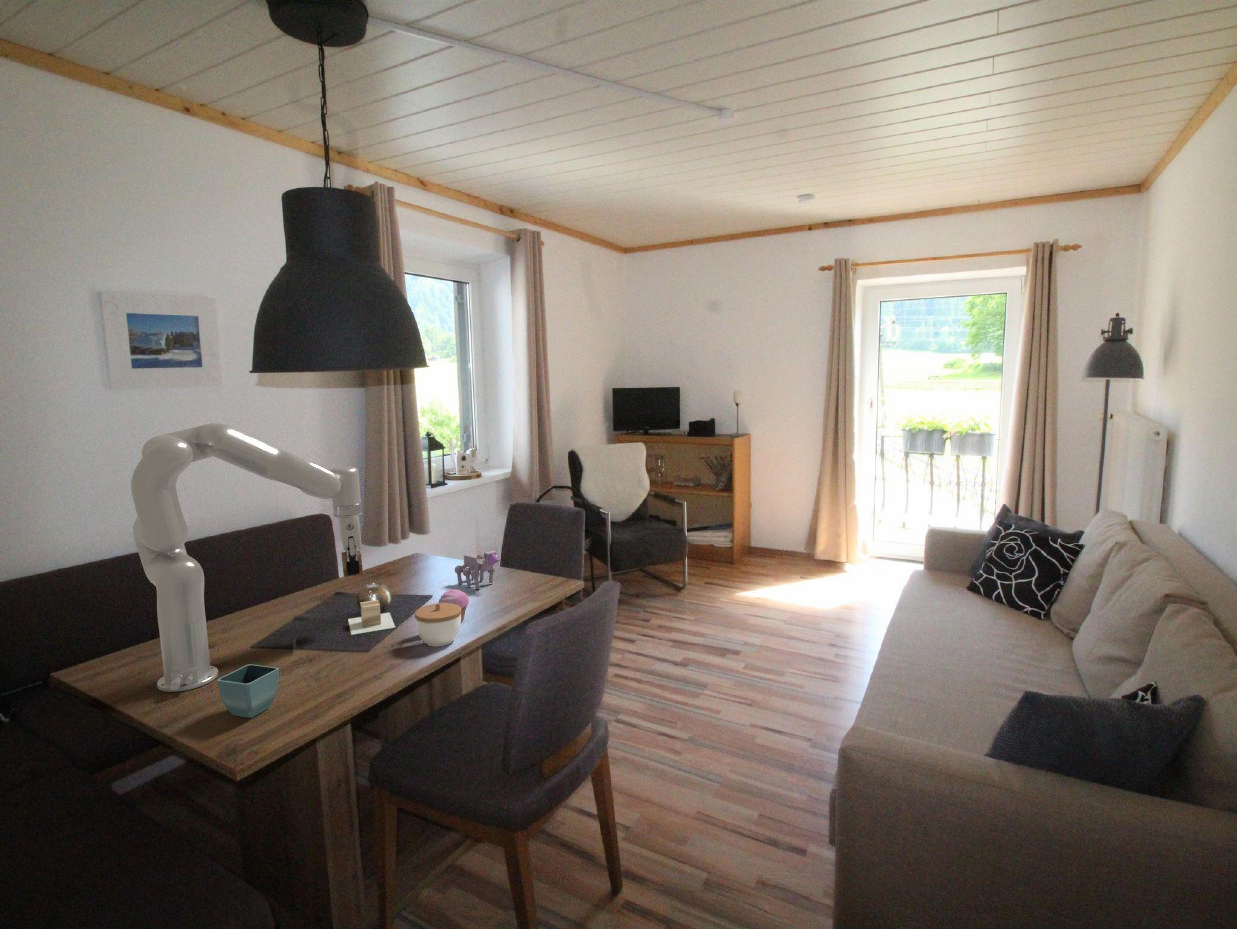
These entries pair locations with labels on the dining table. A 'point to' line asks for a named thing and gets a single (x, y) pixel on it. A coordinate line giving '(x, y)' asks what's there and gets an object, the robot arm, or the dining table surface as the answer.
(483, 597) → the dining table surface
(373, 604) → the maple block
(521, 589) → the dining table surface
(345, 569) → the walnut block
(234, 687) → the flower pot
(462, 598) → the cupcake
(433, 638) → the lidded bowl
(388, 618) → the plate
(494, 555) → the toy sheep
